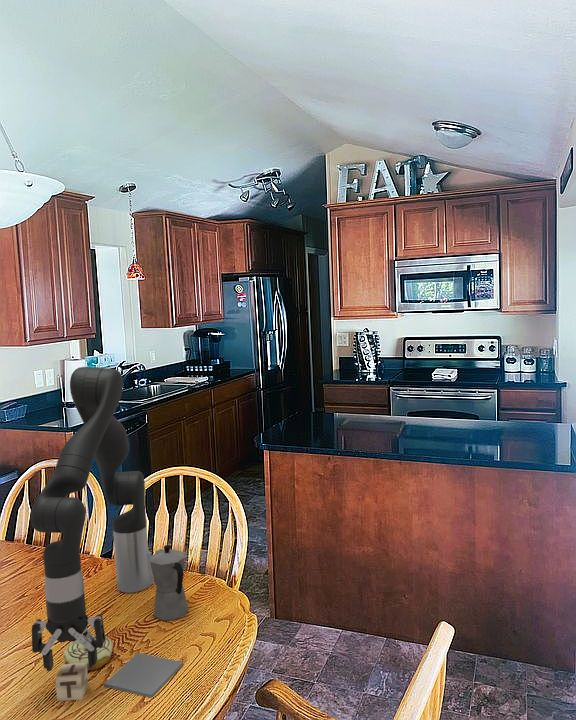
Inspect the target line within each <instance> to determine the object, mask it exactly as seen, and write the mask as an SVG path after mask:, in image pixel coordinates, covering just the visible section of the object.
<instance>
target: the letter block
mask: <svg viewBox="0 0 576 720" xmlns="http://www.w3.org/2000/svg"><path fill="white" fill-rule="evenodd" d="M88 676H89V675H88V671H87V663H74V664H67V663H64V664H63V663H62V665H61V666H60V669H59V671H58V673H57V675H56V677H55V679H54V681H55V690H56V700H57V702H64V701H65V702H67V701H76V700H83V699H84V696H85V693H86V691H87V689H88V686H89V677H88Z"/></svg>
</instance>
